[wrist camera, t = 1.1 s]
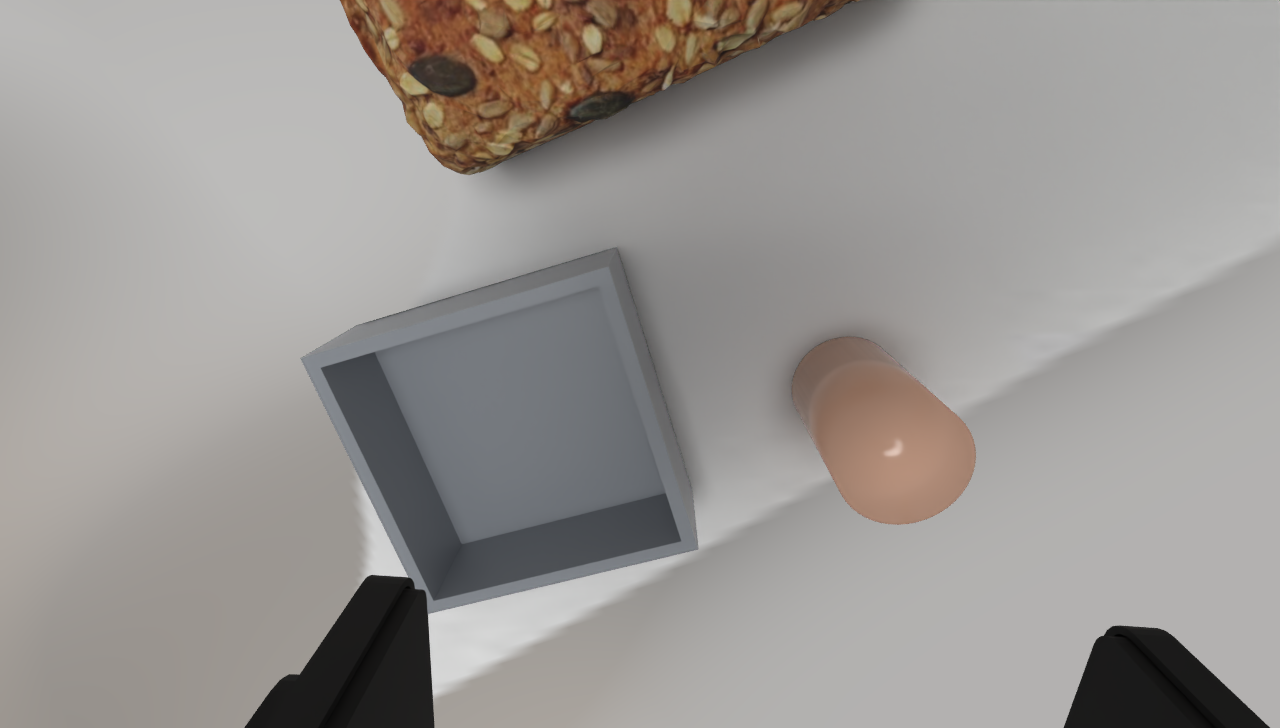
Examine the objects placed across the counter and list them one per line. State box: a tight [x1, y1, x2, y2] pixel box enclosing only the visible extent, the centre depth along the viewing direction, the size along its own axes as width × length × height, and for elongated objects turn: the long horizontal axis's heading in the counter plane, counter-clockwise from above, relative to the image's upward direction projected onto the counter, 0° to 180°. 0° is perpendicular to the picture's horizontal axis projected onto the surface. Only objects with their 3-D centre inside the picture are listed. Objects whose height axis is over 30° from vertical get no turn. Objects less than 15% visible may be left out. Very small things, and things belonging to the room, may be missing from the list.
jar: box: [792, 337, 976, 525], centre depth 27 cm, size 5×5×8 cm
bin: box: [301, 247, 698, 614], centre depth 29 cm, size 13×13×5 cm
